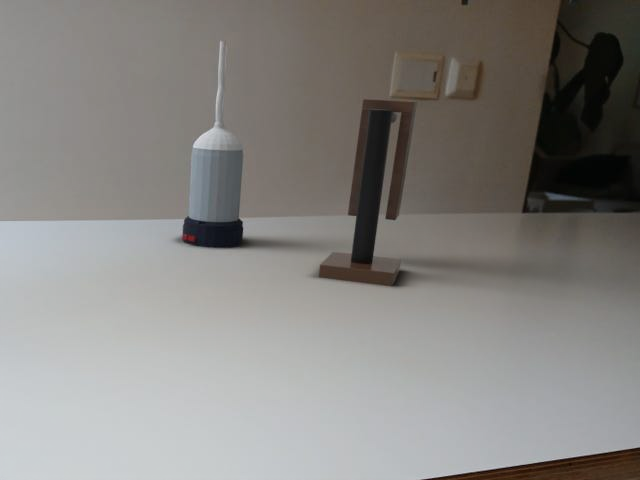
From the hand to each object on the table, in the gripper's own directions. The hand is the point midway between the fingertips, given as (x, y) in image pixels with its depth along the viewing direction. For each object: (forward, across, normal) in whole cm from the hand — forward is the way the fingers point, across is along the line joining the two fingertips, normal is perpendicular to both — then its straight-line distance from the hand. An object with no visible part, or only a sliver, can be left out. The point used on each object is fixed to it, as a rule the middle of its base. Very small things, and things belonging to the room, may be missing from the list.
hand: (517, 4), depth 101 cm
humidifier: (+32, +33, +27) cm, 53 cm away
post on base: (+32, +12, +33) cm, 47 cm away
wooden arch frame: (+26, +12, +28) cm, 40 cm away
